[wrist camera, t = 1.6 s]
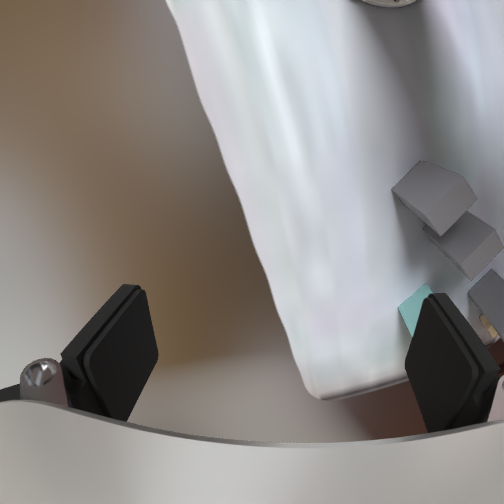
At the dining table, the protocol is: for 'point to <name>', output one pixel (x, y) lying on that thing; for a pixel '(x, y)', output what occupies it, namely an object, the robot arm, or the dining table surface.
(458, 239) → the tile
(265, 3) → the dining table surface
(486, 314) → the tile
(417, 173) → the tile
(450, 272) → the dining table surface
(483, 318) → the stop block
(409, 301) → the teal tile
